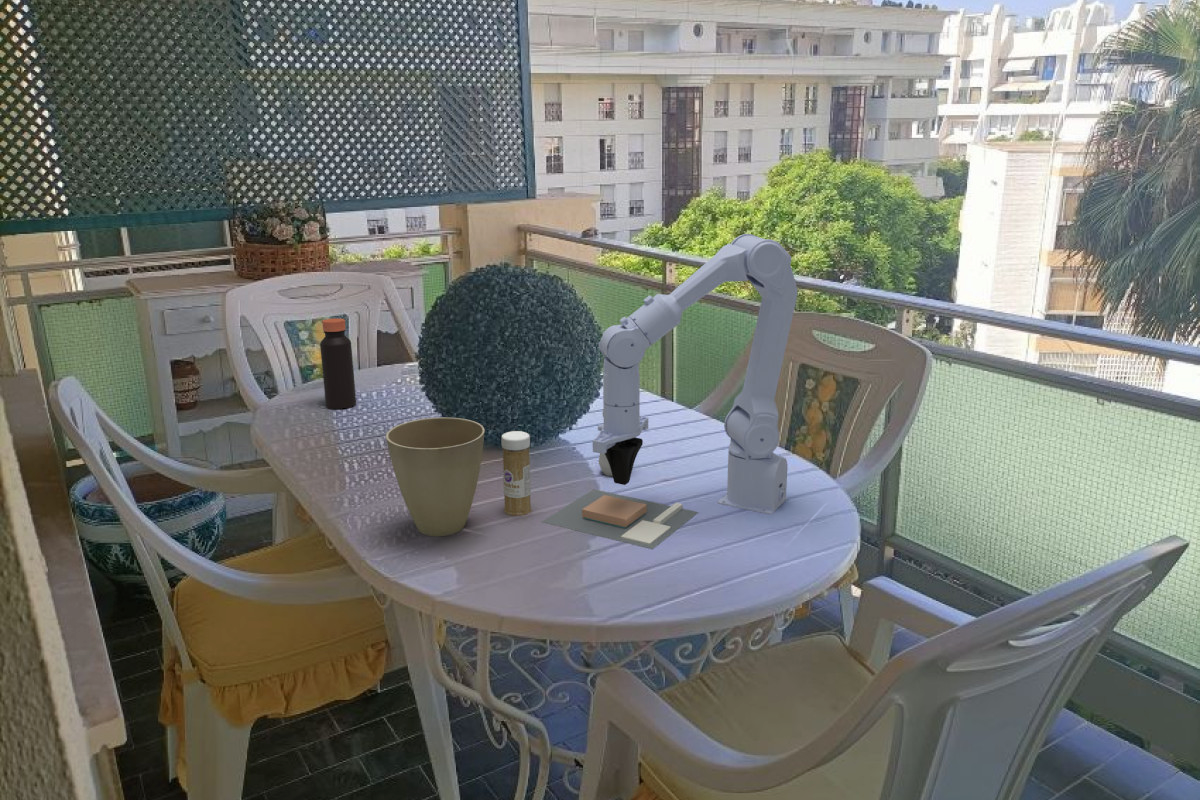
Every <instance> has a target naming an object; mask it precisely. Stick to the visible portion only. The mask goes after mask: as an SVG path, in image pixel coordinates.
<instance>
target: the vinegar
mask: <svg viewBox="0 0 1200 800" xmlns="http://www.w3.org/2000/svg"><path fill="white" fill-rule="evenodd" d="M321 324H322V331H323V334H324V337H323V339H321V341H320V343H319V347H320V348H319V350H320V358H321V369H322V378H323V386H324V387H323V389H324V399H325V400H324V401H325V406H326V408H327V409H330V408H332V409H331V410H344V409H343V408H346V409H350V408H349V407H351V408H353V407H355V406H356V405H357V398H356V397H357V394H356V383H355V374H354V373H355V372H354V363H353V362H354V361H353V351H352V350H353V348H352V341H351V339H349V337H347V335H345V332H346V319H344V318H338V317H337V318H333V317H332V318H326V319H324V320H322V322H321ZM354 405H355V406H354ZM352 406H353V407H352Z"/></svg>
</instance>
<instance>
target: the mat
mask: <svg viewBox="0 0 1200 800" xmlns="http://www.w3.org/2000/svg"><path fill="white" fill-rule="evenodd" d="M604 495H606V496H611V497H616V498H620V499H625V500H629V501H634V502H638V503H643V504H647V512H646V513H645V514H644V515H643V516H641V517H640V518H639V519H637V520H636V521H635V522H633V523H632V524H630V525H629V526H628V527H626V528H622V527H618V526H613V525H609V524H605V523H601V522H597V521H592V520H588V519H584V517H582V509H583V508H585V507H587V506H588V505H590V504H591V503H593V502H594V501H596V500H598V499H599V498H601V497H602V496H604ZM671 506H672V505H667V504H663V503H658V502H655V501H650V500H649V501H648V500H645V499H642V498H641V499H640V498H636V497H633V496H632V497H631V496H627V495H621V494H617V493H613V492H608V491H604V490H599V489H592V490H590V491H589V492H587V493H585V494H583V495H581V497H578V498H577V499H576V500H574V501H572V502H570V503H569V504H568V505H566V506H564V507H563V508H561V509H559V510H558V511H556V512H555V513H553V514H552V515H550V516H548V517H547V518H545V519H544V520H542V521H541V523H544V524H549V525H553V526H557V527H560V528H564V529H567V530H568V529H569V530H572V531H575V532H576V531H577V532H581V533H585V534H588V535H592V536H597V537H601V538H604V539H605V538H606V539H609V540H613V541H616V542H621V543H625V544H629V545H633V546H636V547H641V548H645V549H648V550H649V549H650V550H653V549H655V548H656V547H657V546H659V545H660V544H661V543H663V542H664V541H665V540H667V539H668V538H669V537H670V536H671V535H673V534H674V533H675V532H676V531H677V530H679V529H680V528H681V527H682V526H683V525H685V524H686V523H687V522H689V521H690V520H691V519H692V518H694V517H695V516H696V515H697V514H699V511H695V510H691V509H688V508H687V509H686V508H683V509H681V510H680V511H679V512H677V513H676V514H675V515H674V516H672V517H671V518H670V519H668V520H667V521H666V522H665V523H663V524H662V525H666V526H670V527H671V529H670V530H668V531H667V532H666V533H665V534H663V535H662V536H661V537H660V538H658V539H657V540H656V541H654V542H653V543H652V544H651V545H647V544H643V543H639V542H635V541H631V540H627V539H623V538H621V536H622V535H623V534H625V533H626V532H627V531H629V530H630V529H631V528H633V527H634V526H635V525H637V524H638V523H640V522H641V521H642V520H644V521H649V522H653V520H654V519H655V518H656V517H658V516H659V515H660V514H662V513H663V512H664V511H666V510H667V509H668V508H670V507H671Z"/></svg>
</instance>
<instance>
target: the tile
mask: <svg viewBox="0 0 1200 800" xmlns="http://www.w3.org/2000/svg"><path fill="white" fill-rule="evenodd" d="M646 512H647V504H643V503H638V502H634V501H629V500H625V499H620V498H616V497H611V496H606V495H604V496H602V497H601V498H599V499H598V500H596V501H594V502H593V503H591V504H590V505H588V506H587V507H585V508H583V509H582V517H584V519H588V520H592V521H597V522H601V523H605V524H609V525H613V526H618V527H622V528H626V527H628V526H629V525H630V524H632V523H633V522H635V521H636V520H637V519H639V518H640V517H641V516H643V515H644V514H645V513H646Z"/></svg>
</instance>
